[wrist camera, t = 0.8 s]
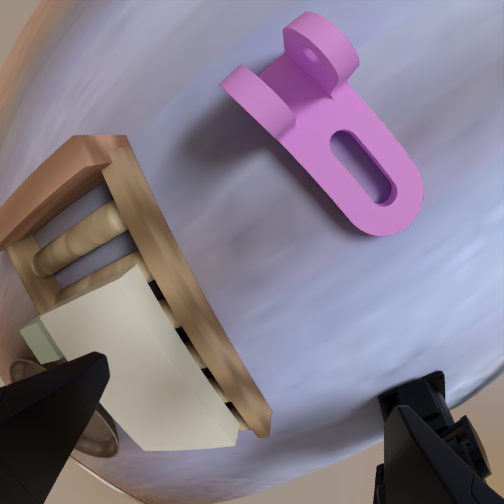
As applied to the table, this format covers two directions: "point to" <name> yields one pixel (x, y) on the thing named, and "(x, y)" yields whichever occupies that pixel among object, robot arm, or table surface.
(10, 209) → the roller track
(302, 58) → the bracket
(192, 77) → the table surface
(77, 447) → the plant saucer
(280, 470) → the table surface
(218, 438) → the slab
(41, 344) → the block
